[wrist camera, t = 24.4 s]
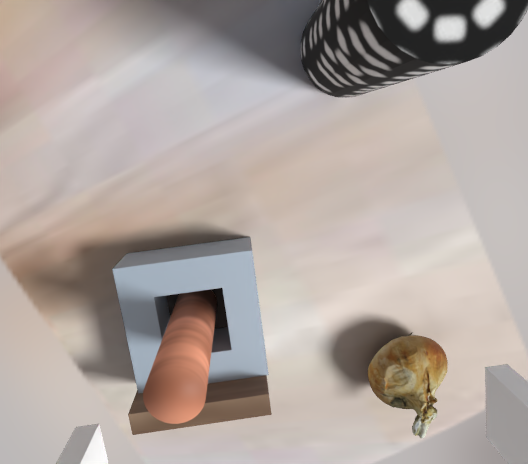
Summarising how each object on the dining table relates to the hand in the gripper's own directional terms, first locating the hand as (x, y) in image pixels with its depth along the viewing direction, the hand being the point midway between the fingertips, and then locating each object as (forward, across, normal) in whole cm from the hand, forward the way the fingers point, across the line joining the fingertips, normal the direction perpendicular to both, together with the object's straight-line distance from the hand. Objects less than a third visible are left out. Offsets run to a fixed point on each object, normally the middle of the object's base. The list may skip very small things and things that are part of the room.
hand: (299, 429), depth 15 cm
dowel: (+29, -7, -6) cm, 30 cm away
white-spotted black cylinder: (+29, +10, +16) cm, 35 cm away
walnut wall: (+29, -7, -13) cm, 32 cm away
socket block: (+29, -7, -6) cm, 30 cm away
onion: (+29, +13, -15) cm, 35 cm away
